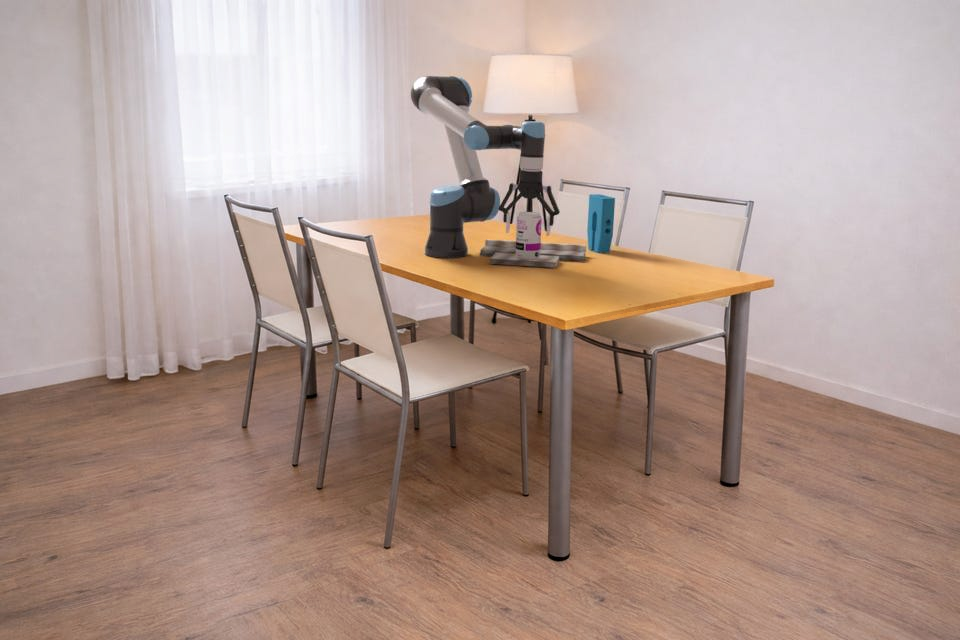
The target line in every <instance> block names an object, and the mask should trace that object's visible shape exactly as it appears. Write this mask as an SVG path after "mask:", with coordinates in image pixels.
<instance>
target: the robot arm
mask: <svg viewBox="0 0 960 640" xmlns="http://www.w3.org/2000/svg"><path fill="white" fill-rule="evenodd" d="M472 98H473V91H472V88H471V86H470V84H469V82H468V81H466V80H465V79H464V78H462V77H459V76H457V77H456V76H455V75H454V76H453V75H450V76H437V75H436V76H434V75H426V76H425V75H424V76H423V77H420V78H418V79H417V80H416V81H415V82H414V83H413V85H412V87H411V89H410V99H411V102H412V104H413V105H414V106H415V108H416V109H417V110H419V111H420V112H421V113H422V114H425V115H430V116H432V117H434V118H435V119H436V120H438V121H439V122H441V123H442V124H444V129H445V132H446V135H447V139H448V143H449V146H450V147H449V148H450V151H451V154H452V158H453V163H454V166H455V170H456V173H457V177H458V181H459V184H458V185H445V186H440V187H436V188H434V189H433V190H432V191H431V192H430V197H429V198H430V201H429V205H430V206H429V207H430V208H429V209H430V212H429V216H430V217H429V220H430V221H429V234H428V237H427V239H426V244H425V247H424V255H426V256H429V257H432V258H433V257H434V258H441V259H442V258H446V259H448V258H452V259H453V258H463V257H466V256H468V254H469V253H468V252H469V248H468V244H467V241H466V238H465V234H464V223H475V222H476V223H477V222H481V223H482V222H483V223H484V222H486V221H491V220H493V219H494V218H495V217H496V216H497V215H498V213H499V212H502V213H503V218H502V219H503V220H502V221H503V223H506V225H505V233H506V234H509V233H510V226H511V212H509V211H510V210H511V209H512V208H513V206H515V205H516V204H517V202H518V201H520V199H521V198H522V197H523V198H524V199H532V200H533V199H534V200H535V199H537V201H539V202H540V204H541V206H542V207H543V208H544V209H545V210H546V212H547V213H548V215H547V219H546V234H545V235H546V236H547V237H549V236H550V232H551V231H550V230H551V226H553V225H554V223H555V220H554V219H555V216H558V215H559V214H561V213H560V209H559V206H558V204H557V202H556V199H555V196H554V195H553V193H552V186H551V185H544V186H543V171H542V170H543V169H544V155H545V154H544V153H545V152H544V151H545V139H546V124H545V123H544V122H542V121H534V120H533V121H531V120H525V121H523V122H522V124H521V126H519V125H512V124H502V125H486V124H485V123H483V122H482V121H480V120H479V119H477V118H476V117H474V116H473V115H472V114H470V113H469V111H470V108H469V107H470V106H472V105H471V104H472V102H473V100H472ZM509 149H510V150H519V151H520V157H519V158H520V161H519V168H520V170H519V176H518V177H519V180H518V184H516V183H513V182H511V183H509V186H508V190H507V192H506V194H505V196H504V198H503V200H502V201H501V195H500V193H499V192H498V190H496V188H494V187H491V185H490V182H489V179H487V178H486V177H484V176H483V171H482V168H481V164H480V161H479V157H478V154H477V151H482V150H509ZM516 189H517V190H518V192H519V193H518V194H517V196H516V197H515V198H514V199H513V200H512V201H511V202H510V203H509V204H508V205H507V207H505V206H506V204H507V202H508V201H509V198H510V197H511V195H512V194H513V192H514V191H515V190H516ZM543 190H544V192H545V193H546V194H547V197H548V200H549V201H550V205H552V208H551V206H549V204H548V202H547V201H546V200H545V198H544V197H543V195H542V191H543Z"/></svg>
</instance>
